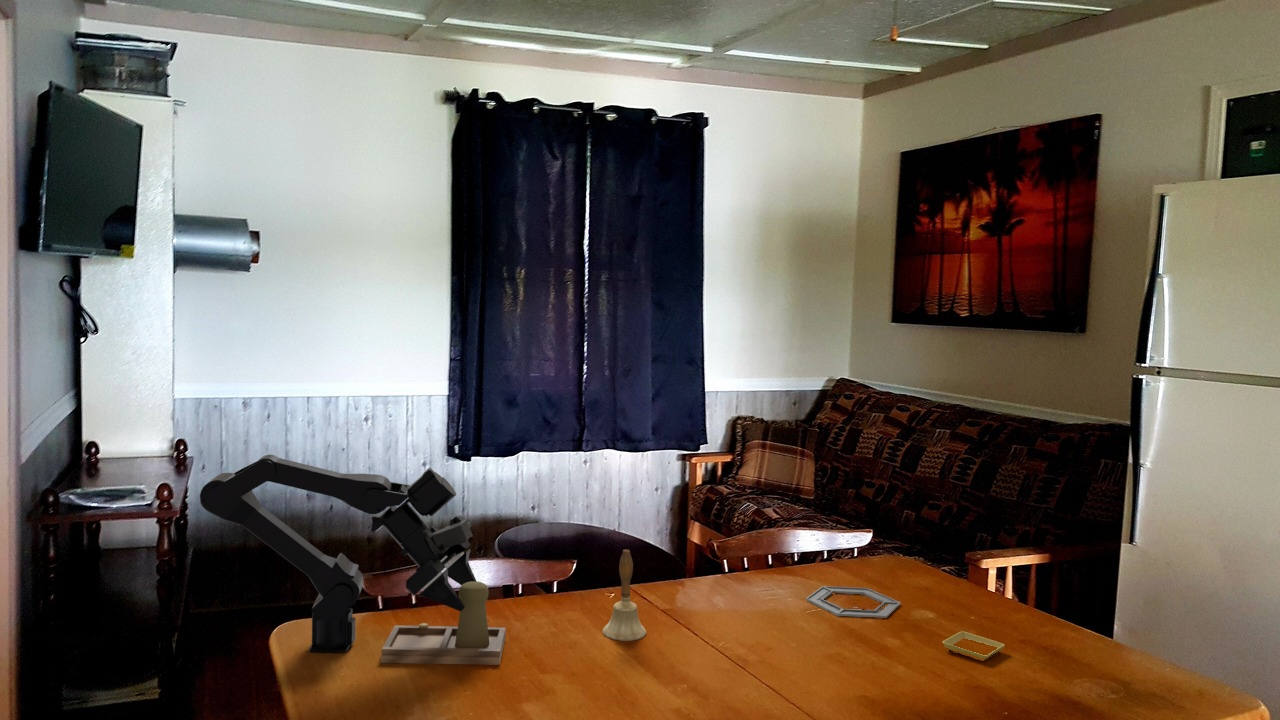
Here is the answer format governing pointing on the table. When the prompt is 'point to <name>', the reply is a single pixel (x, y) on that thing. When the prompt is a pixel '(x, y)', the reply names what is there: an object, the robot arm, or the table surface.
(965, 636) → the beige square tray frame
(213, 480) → the robot arm
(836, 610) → the grey hexagonal frame
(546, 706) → the table surface
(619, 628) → the hand bell
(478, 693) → the table surface
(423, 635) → the divided tray
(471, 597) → the olive pepper mill
